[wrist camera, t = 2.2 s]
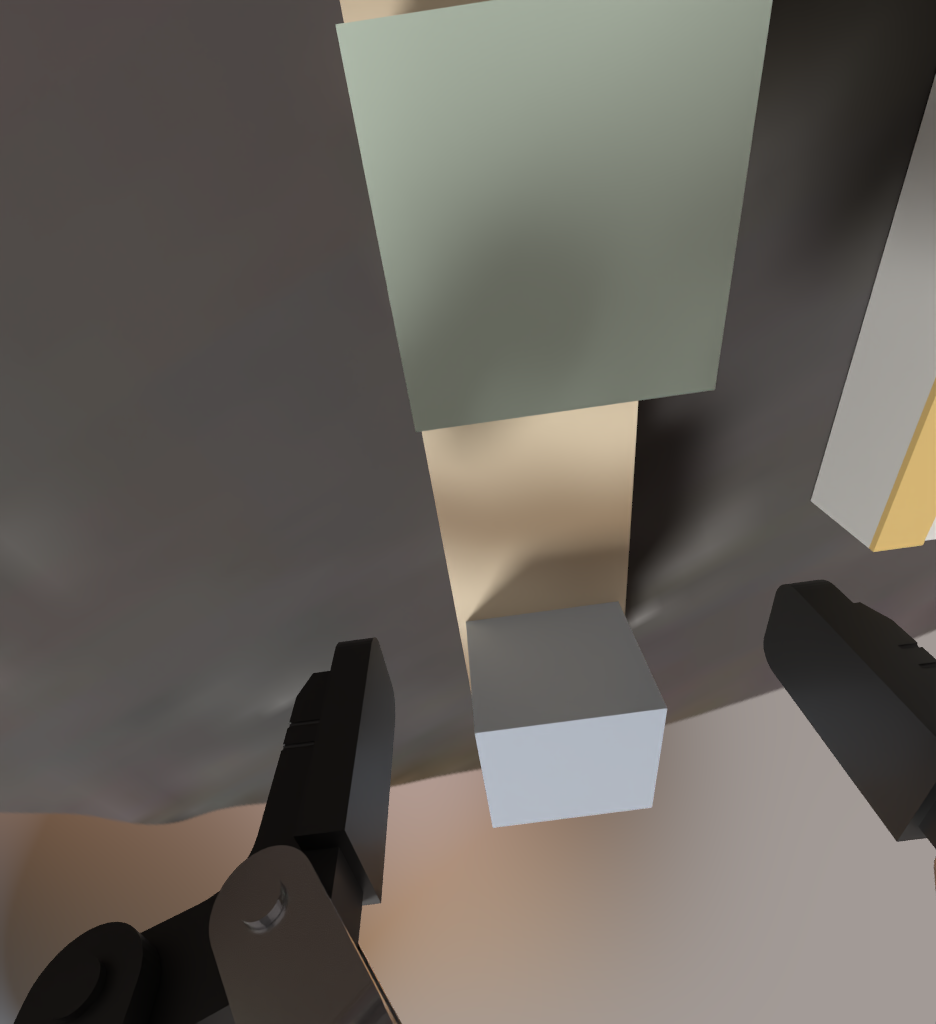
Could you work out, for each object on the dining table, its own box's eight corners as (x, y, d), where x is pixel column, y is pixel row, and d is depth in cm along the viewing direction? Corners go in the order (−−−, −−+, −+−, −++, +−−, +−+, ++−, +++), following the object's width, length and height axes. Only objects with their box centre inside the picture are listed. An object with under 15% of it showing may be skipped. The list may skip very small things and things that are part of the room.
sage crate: (371, 87, 9) (335, 24, 6) (647, 45, 9) (779, -45, 6) (420, 363, 12) (415, 432, 8) (632, 332, 12) (714, 389, 8)
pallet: (360, 21, 11) (330, -51, 8) (599, -15, 11) (670, -104, 8) (473, 663, 23) (481, 743, 20) (590, 648, 23) (617, 725, 20)
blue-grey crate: (465, 621, 16) (474, 733, 13) (618, 601, 16) (667, 708, 13) (482, 715, 19) (493, 827, 16) (612, 698, 19) (652, 807, 16)
